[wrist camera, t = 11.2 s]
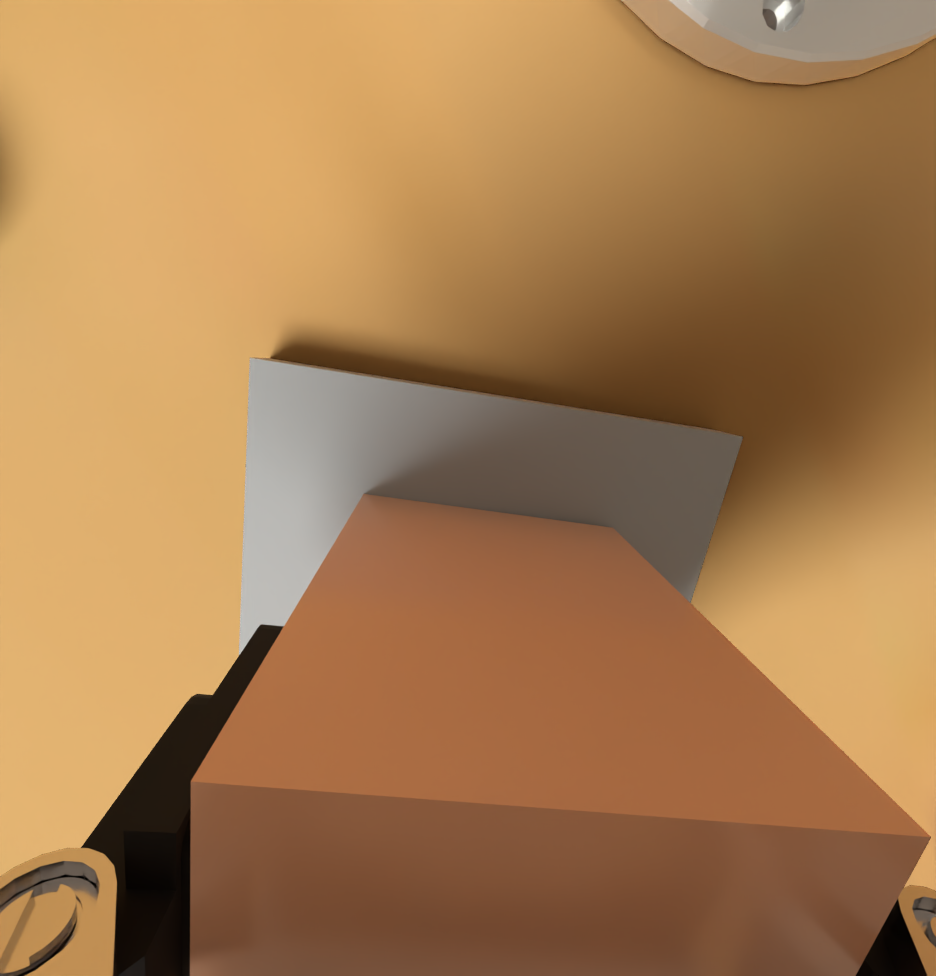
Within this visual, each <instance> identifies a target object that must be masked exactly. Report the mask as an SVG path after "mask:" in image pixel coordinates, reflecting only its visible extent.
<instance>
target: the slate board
mask: <svg viewBox="0 0 936 976" xmlns="http://www.w3.org/2000/svg"><path fill="white" fill-rule="evenodd" d="M742 439H743V437H742V436H738V435H734V434H730V433H726V432H722V431H718V430H713V429H706V428H700V427H694V426H688V425H682V424H675V423H669V422H663V421H657V420H650V419H644V418H638V417H632V416H626V415H619V414H613V413H607V412H601V411H595V410H588V409H582V408H576V407H570V406H563V405H557V404H551V403H545V402H539V401H532V400H526V399H520V398H514V397H507V396H501V395H495V394H489V393H483V392H476V391H470V390H464V389H458V388H452V387H445V386H439V385H433V384H427V383H420V382H414V381H408V380H402V379H396V378H389V377H383V376H377V375H371V374H364V373H358V372H352V371H346V370H340V369H333V368H327V367H321V366H315V365H308V364H302V363H296V362H290V361H284V360H277V359H271V358H250V370H249V397H248V424H247V451H246V479H245V506H244V533H243V560H242V587H241V615H240V642H239V655H240V654H241V652H242V651H243V649H244V648H245V646H246V645H247V643H248V642H249V640H250V639H251V637H252V636H253V634H254V633H255V631H256V630H257V628H258V627H259V626H260V625H261V624H265V625H275V626H284V625H285V624H286V622H287V621H288V619H289V617H290V616H291V614H292V612H293V611H294V609H295V607H296V606H297V604H298V602H299V601H300V599H301V597H302V596H303V594H304V592H305V591H306V589H307V587H308V586H309V584H310V582H311V581H312V579H313V577H314V576H315V574H316V572H317V571H318V569H319V567H320V566H321V564H322V562H323V561H324V559H325V557H326V556H327V554H328V552H329V551H330V549H331V547H332V546H333V544H334V542H335V541H336V539H337V537H338V536H339V534H340V532H341V531H342V529H343V527H344V526H345V524H346V522H347V521H348V519H349V517H350V516H351V514H352V512H353V511H354V509H355V507H356V506H357V504H358V502H359V501H360V499H361V497H362V496H363V494H369V495H376V496H383V497H391V498H398V499H405V500H413V501H420V502H428V503H435V504H442V505H450V506H457V507H464V508H472V509H479V510H486V511H494V512H501V513H509V514H516V515H523V516H531V517H538V518H545V519H553V520H560V521H567V522H575V523H582V524H589V525H597V526H604V527H612V528H614V529H615V530H616V531H617V532H618V533H619V534H620V535H621V536H622V537H623V538H624V539H625V540H626V541H627V542H628V543H629V544H630V545H631V546H632V547H633V548H634V549H635V550H636V551H637V552H638V553H639V554H640V555H641V556H642V557H643V558H644V559H645V560H647V561H648V562H649V563H650V564H651V565H652V566H653V567H654V568H655V569H656V570H657V571H658V572H659V573H660V574H661V575H662V576H663V577H664V578H665V579H666V580H667V581H668V582H669V583H670V584H671V585H672V586H673V587H674V588H675V589H676V590H677V591H678V592H679V593H680V594H681V595H683V596H684V597H685V598H686V599H687V600H688V601H689V602H690V603H691V600H692V597H693V593H694V590H695V587H696V584H697V581H698V578H699V575H700V571H701V568H702V565H703V562H704V559H705V556H706V552H707V549H708V546H709V543H710V540H711V537H712V534H713V530H714V527H715V524H716V521H717V518H718V515H719V512H720V508H721V505H722V502H723V499H724V496H725V493H726V489H727V486H728V483H729V480H730V477H731V474H732V471H733V467H734V464H735V461H736V458H737V455H738V452H739V449H740V445H741V442H742Z"/></svg>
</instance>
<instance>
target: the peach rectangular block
mask: <svg viewBox="0 0 936 976" xmlns="http://www.w3.org/2000/svg"><path fill="white" fill-rule="evenodd" d="M930 838H931V837H930V836H929V835H928V834H927V833H926V832H925V831H924V830H923V829H922V828H921V827H920V826H919V825H918V824H917V823H916V822H915V821H914V820H913V819H912V818H911V817H910V816H909V815H908V814H907V813H906V812H905V811H904V810H903V809H902V808H901V807H900V806H899V805H898V804H897V803H896V802H894V801H893V800H892V799H891V798H890V797H889V796H888V795H887V794H886V793H885V792H884V791H883V790H882V789H881V788H880V787H879V786H878V785H877V784H876V783H875V782H874V781H873V780H872V779H871V778H870V777H869V776H868V775H867V774H866V773H865V772H864V771H863V770H862V769H861V768H859V767H858V766H857V765H856V764H855V763H854V762H853V761H852V760H851V759H850V758H849V757H848V756H847V755H846V754H845V753H844V752H843V751H842V750H841V749H840V748H839V747H838V746H837V745H836V744H835V743H834V742H833V741H832V740H831V739H830V738H829V737H828V736H827V735H826V734H825V733H823V732H822V731H821V730H820V729H819V728H818V727H817V726H816V725H815V724H814V723H813V722H812V721H811V720H810V719H809V718H808V717H807V716H806V715H805V714H804V713H803V712H802V711H801V710H800V709H799V708H798V707H797V706H796V705H795V704H794V703H793V702H792V701H791V700H790V699H789V698H787V697H786V696H785V695H784V694H783V693H782V692H781V691H780V690H779V689H778V688H777V687H776V686H775V685H774V684H773V683H772V682H771V681H770V680H769V679H768V678H767V677H766V676H765V675H764V674H763V673H762V672H761V671H760V670H759V669H758V668H757V667H756V666H755V665H754V664H752V663H751V662H750V661H749V660H748V659H747V658H746V657H745V656H744V655H743V654H742V653H741V652H740V651H739V650H738V649H737V648H736V647H735V646H734V645H733V644H732V643H731V642H730V641H729V640H728V639H727V638H726V637H725V636H724V635H723V634H722V633H721V632H720V631H719V630H718V629H716V628H715V627H714V626H713V625H712V624H711V623H710V622H709V621H708V620H707V619H706V618H705V617H704V616H703V615H702V614H701V613H700V612H699V611H698V610H697V609H696V608H695V607H694V606H693V605H692V604H691V603H690V602H689V601H688V600H687V599H686V598H685V597H684V596H683V595H681V594H680V593H679V592H678V591H677V590H676V589H675V588H674V587H673V586H672V585H671V584H670V583H669V582H668V581H667V580H666V579H665V578H664V577H663V576H662V575H661V574H660V573H659V572H658V571H657V570H656V569H655V568H654V567H653V566H652V565H651V564H650V563H649V562H648V561H647V560H645V559H644V558H643V557H642V556H641V555H640V554H639V553H638V552H637V551H636V550H635V549H634V548H633V547H632V546H631V545H630V544H629V543H628V542H627V541H626V540H625V539H624V538H623V537H622V536H621V535H620V534H619V533H618V532H617V531H616V530H615V529H614V528H612V527H604V526H597V525H589V524H582V523H575V522H567V521H560V520H553V519H545V518H538V517H531V516H523V515H516V514H509V513H501V512H494V511H486V510H479V509H472V508H464V507H457V506H450V505H442V504H435V503H428V502H420V501H413V500H405V499H398V498H391V497H383V496H376V495H369V494H363V496H362V497H361V499H360V501H359V502H358V504H357V506H356V507H355V509H354V511H353V512H352V514H351V516H350V517H349V519H348V521H347V522H346V524H345V526H344V527H343V529H342V531H341V532H340V534H339V536H338V537H337V539H336V541H335V542H334V544H333V546H332V547H331V549H330V551H329V552H328V554H327V556H326V557H325V559H324V561H323V562H322V564H321V566H320V567H319V569H318V571H317V572H316V574H315V576H314V577H313V579H312V581H311V582H310V584H309V586H308V587H307V589H306V591H305V592H304V594H303V596H302V597H301V599H300V601H299V602H298V604H297V606H296V607H295V609H294V611H293V612H292V614H291V616H290V617H289V619H288V621H287V622H286V624H285V625H284V627H283V629H282V630H281V632H280V634H279V635H278V637H277V639H276V640H275V642H274V644H273V645H272V647H271V649H270V650H269V652H268V654H267V655H266V657H265V659H264V660H263V662H262V664H261V665H260V667H259V669H258V670H257V672H256V674H255V675H254V677H253V679H252V680H251V682H250V684H249V685H248V687H247V689H246V690H245V692H244V694H243V695H242V697H241V699H240V700H239V702H238V704H237V705H236V707H235V709H234V710H233V712H232V714H231V715H230V717H229V719H228V720H227V722H226V724H225V725H224V727H223V729H222V730H221V732H220V734H219V735H218V737H217V739H216V740H215V742H214V744H213V745H212V747H211V749H210V750H209V752H208V754H207V755H206V757H205V759H204V760H203V762H202V764H201V765H200V767H199V769H198V770H197V772H196V774H195V775H194V777H193V779H192V780H191V842H190V976H856V974H857V972H858V970H859V968H860V967H861V965H862V963H863V961H864V959H865V957H866V956H867V954H868V952H869V950H870V948H871V947H872V945H873V943H874V941H875V939H876V937H877V936H878V934H879V932H880V930H881V928H882V926H883V925H884V923H885V921H886V919H887V917H888V915H889V914H890V912H891V910H892V908H893V906H894V904H895V903H896V901H897V899H898V897H899V895H900V893H901V892H902V890H903V888H904V886H905V884H906V882H907V881H908V879H909V877H910V875H911V873H912V871H913V870H914V868H915V866H916V864H917V862H918V860H919V859H920V857H921V855H922V853H923V851H924V849H925V848H926V846H927V844H928V842H929V840H930Z"/></svg>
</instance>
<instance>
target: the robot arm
mask: <svg viewBox="0 0 936 976" xmlns="http://www.w3.org/2000/svg"><path fill="white" fill-rule="evenodd" d="M621 1H622V2H623V3H625V4H626V5H627V6H628V7H629V8H630V9H631V10H632V11H633V12H634V13H635V14H636V15H637V16H638V17H639V18H640V19H641V20H642V21H643V22H644V23H645V24H646V25H647V26H648V27H649V28H650V29H651V30H652V31H653V32H654V33H655V34H656V35H657V36H659V37H660V38H661V39H663V40H664V41H666V42H667V43H669V44H671V45H672V46H674V47H676V48H677V49H679V50H681V51H682V52H684V53H685V54H687V55H689V56H690V57H692V58H694V59H695V60H697V61H699V62H700V63H702V64H703V65H705V66H707V67H711V68H714V69H717V70H720V71H723V72H726V73H729V74H732V75H735V76H739V77H742V78H745V79H748V80H751V81H754V82H768V83H783V84H798V85H808V84H813V83H819V82H825V81H831V80H837V79H843V78H848V77H854V76H858V75H860V74H863V73H865V72H868V71H870V70H873V69H875V68H878V67H880V66H882V65H885V64H887V63H890V62H892V61H895V60H897V59H900V58H902V57H905V56H907V55H909V54H910V53H912V52H913V51H915V50H916V49H918V48H919V47H921V46H923V45H924V44H926V43H928V42H929V41H931V40H932V39H934V38H936V0H621ZM283 627H284V626H275V625H265V624H261V625H260V626H259V627H258V628H257V630H256V631H255V633H254V634H253V636H252V637H251V639H250V640H249V642H248V643H247V645H246V646H245V648H244V649H243V651H242V652H241V654H240V655H239V657H238V658H237V660H236V661H235V663H234V664H233V666H232V667H231V669H230V670H229V672H228V673H227V675H226V676H225V678H224V679H223V681H222V682H221V684H220V685H219V687H218V688H217V690H216V691H215V693H214V694H213V695H203V694H196V695H194V696H192V697H191V698H190V699H189V701H188V702H187V703H186V704H185V705H184V707H183V708H182V709H181V711H180V712H179V714H178V715H177V716H176V718H175V719H174V721H173V722H172V723H171V725H170V726H169V727H168V729H167V730H166V732H165V733H164V734H163V736H162V737H161V738H160V740H159V741H158V743H157V744H156V745H155V747H154V748H153V749H152V751H151V752H150V754H149V755H148V756H147V758H146V759H145V760H144V762H143V763H142V765H141V766H140V767H139V769H138V770H137V771H136V773H135V774H134V776H133V777H132V778H131V780H130V781H129V783H128V784H127V785H126V787H125V788H124V789H123V791H122V792H121V794H120V795H119V796H118V798H117V799H116V800H115V802H114V803H113V805H112V806H111V807H110V809H109V810H108V811H107V813H106V814H105V816H104V817H103V818H102V820H101V821H100V822H99V824H98V825H97V827H96V828H95V829H94V831H93V832H92V833H91V835H90V836H89V838H88V839H87V840H86V842H85V843H84V845H83V846H82V847H81V848H66V849H62V850H58V851H54V852H50V853H46V854H42V855H40V856H38V857H35V858H33V859H31V860H29V861H27V862H24V863H22V864H20V865H18V866H16V867H14V868H12V869H11V870H9V871H8V872H6V873H5V874H3V875H2V876H0V976H190V842H191V780H192V779H193V777H194V775H195V774H196V772H197V770H198V769H199V767H200V765H201V764H202V762H203V760H204V759H205V757H206V755H207V754H208V752H209V750H210V749H211V747H212V745H213V744H214V742H215V740H216V739H217V737H218V735H219V734H220V732H221V730H222V729H223V727H224V725H225V724H226V722H227V720H228V719H229V717H230V715H231V714H232V712H233V710H234V709H235V707H236V705H237V704H238V702H239V700H240V699H241V697H242V695H243V694H244V692H245V690H246V689H247V687H248V685H249V684H250V682H251V680H252V679H253V677H254V675H255V674H256V672H257V670H258V669H259V667H260V665H261V664H262V662H263V660H264V659H265V657H266V655H267V654H268V652H269V650H270V649H271V647H272V645H273V644H274V642H275V640H276V639H277V637H278V635H279V634H280V632H281V630H282V629H283ZM856 976H936V891H935V890H932V889H930V888H927V887H923V886H914V885H909V886H907V887H905V888H903V890H902V892H901V893H900V895H899V897H898V899H897V901H896V903H895V904H894V906H893V908H892V910H891V912H890V914H889V915H888V917H887V919H886V921H885V923H884V925H883V926H882V928H881V930H880V932H879V934H878V936H877V937H876V939H875V941H874V943H873V945H872V947H871V948H870V950H869V952H868V954H867V956H866V957H865V959H864V961H863V963H862V965H861V967H860V968H859V970H858V972H857V974H856Z"/></svg>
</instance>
